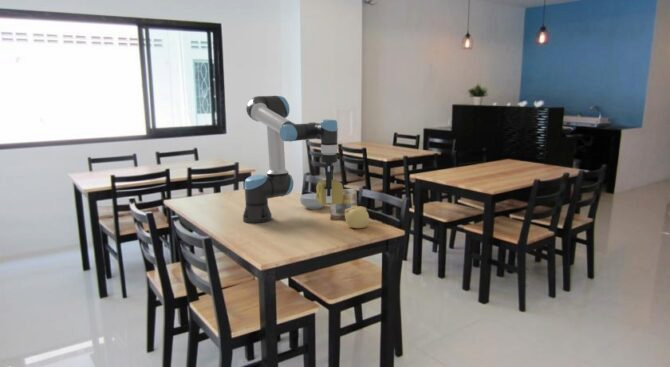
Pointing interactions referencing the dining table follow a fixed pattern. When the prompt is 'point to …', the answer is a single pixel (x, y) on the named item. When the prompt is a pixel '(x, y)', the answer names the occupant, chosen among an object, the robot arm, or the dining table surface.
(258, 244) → the dining table surface
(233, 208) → the dining table surface
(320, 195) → the cheese
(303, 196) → the cereal bowl
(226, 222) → the dining table surface
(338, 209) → the stand
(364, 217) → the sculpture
